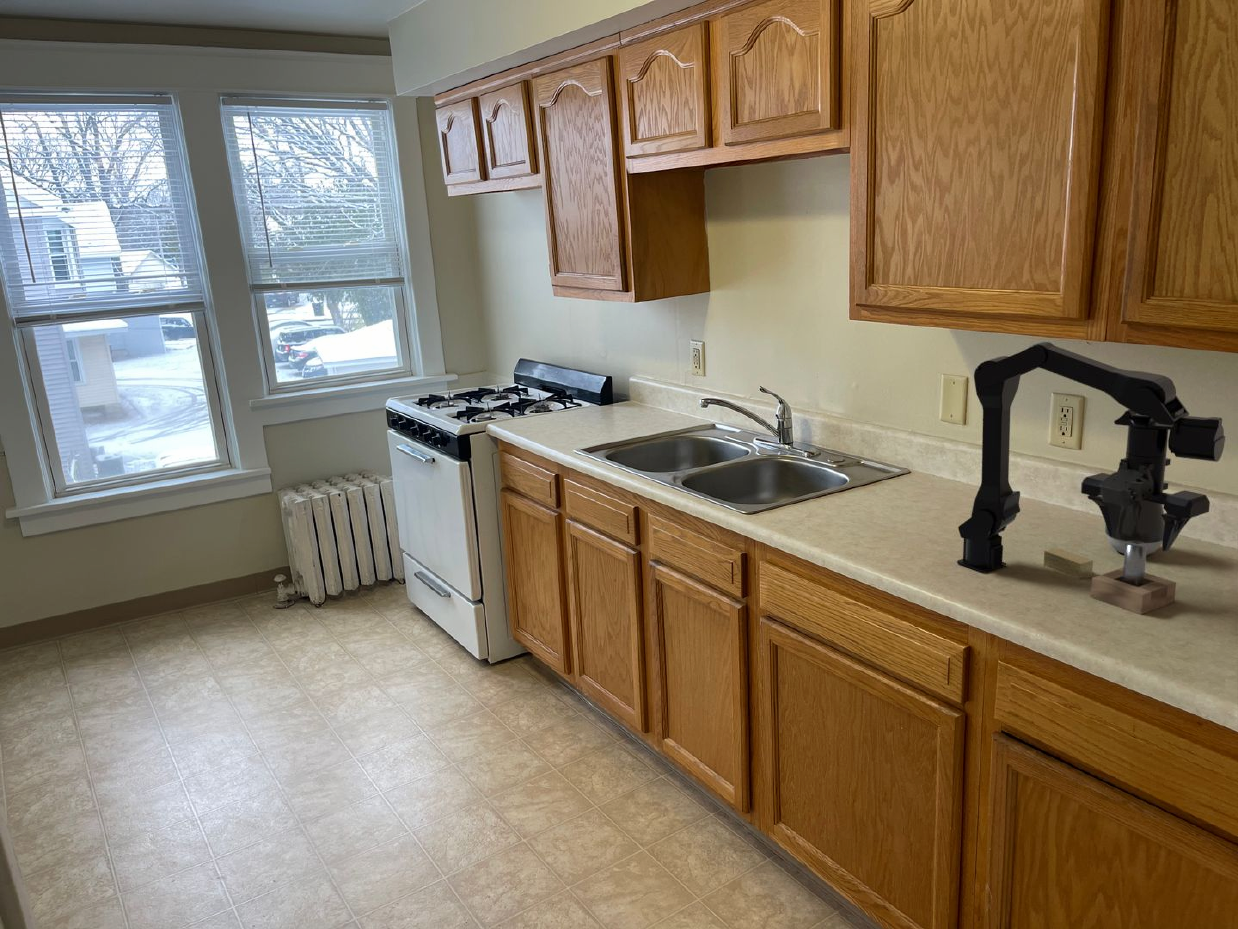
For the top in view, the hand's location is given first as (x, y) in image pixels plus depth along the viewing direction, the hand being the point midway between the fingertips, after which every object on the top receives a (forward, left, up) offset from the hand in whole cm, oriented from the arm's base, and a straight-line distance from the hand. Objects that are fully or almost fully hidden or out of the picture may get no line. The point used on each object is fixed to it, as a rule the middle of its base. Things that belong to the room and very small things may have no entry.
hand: (1138, 543), depth 153 cm
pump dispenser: (-14, +21, -10) cm, 27 cm away
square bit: (-15, +3, -10) cm, 18 cm away
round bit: (0, 0, -10) cm, 10 cm away
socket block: (0, 0, -10) cm, 10 cm away
